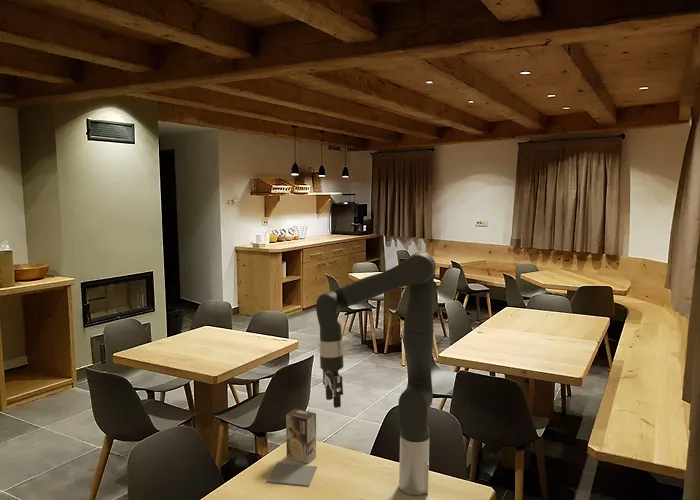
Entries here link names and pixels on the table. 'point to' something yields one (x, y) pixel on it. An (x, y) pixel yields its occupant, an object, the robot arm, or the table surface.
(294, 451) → the coffee box
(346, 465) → the table surface
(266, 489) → the table surface
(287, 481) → the rubber mat
